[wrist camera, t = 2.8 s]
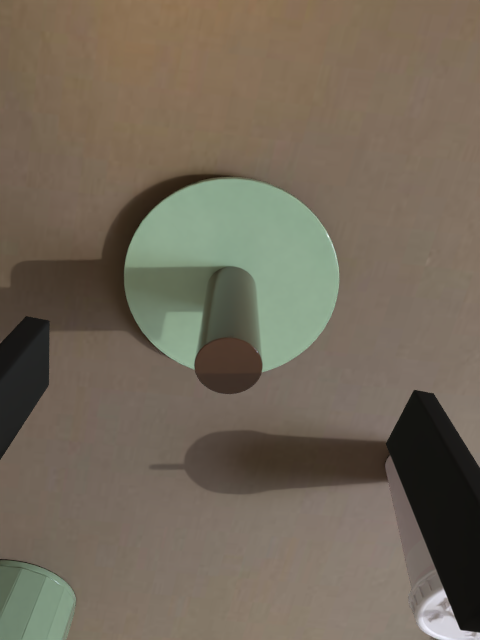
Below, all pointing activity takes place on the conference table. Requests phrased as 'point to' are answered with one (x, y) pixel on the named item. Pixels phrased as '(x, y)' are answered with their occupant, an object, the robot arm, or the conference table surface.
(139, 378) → the conference table surface
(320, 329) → the lid
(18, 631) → the pot
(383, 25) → the conference table surface
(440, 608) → the smoothie
